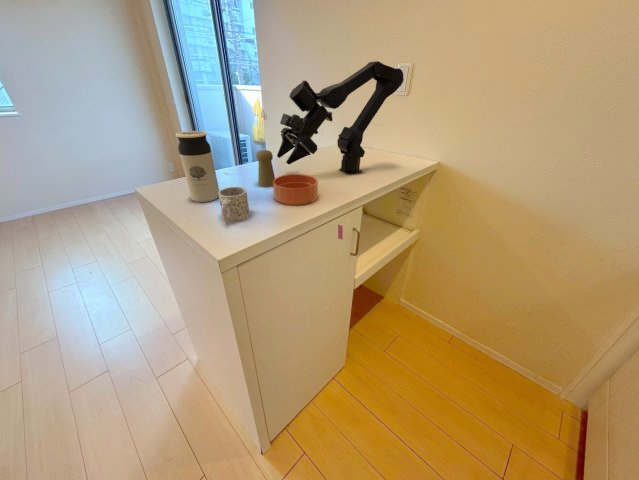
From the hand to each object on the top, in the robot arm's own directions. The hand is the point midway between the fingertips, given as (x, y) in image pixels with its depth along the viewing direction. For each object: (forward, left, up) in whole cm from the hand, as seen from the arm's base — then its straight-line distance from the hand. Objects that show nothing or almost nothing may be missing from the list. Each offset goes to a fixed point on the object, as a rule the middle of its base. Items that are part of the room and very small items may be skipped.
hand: (282, 160), depth 86 cm
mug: (+22, +21, -8) cm, 31 cm away
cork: (+6, 0, -8) cm, 10 cm away
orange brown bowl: (+2, +15, -7) cm, 17 cm away
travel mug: (+26, +3, -8) cm, 27 cm away
